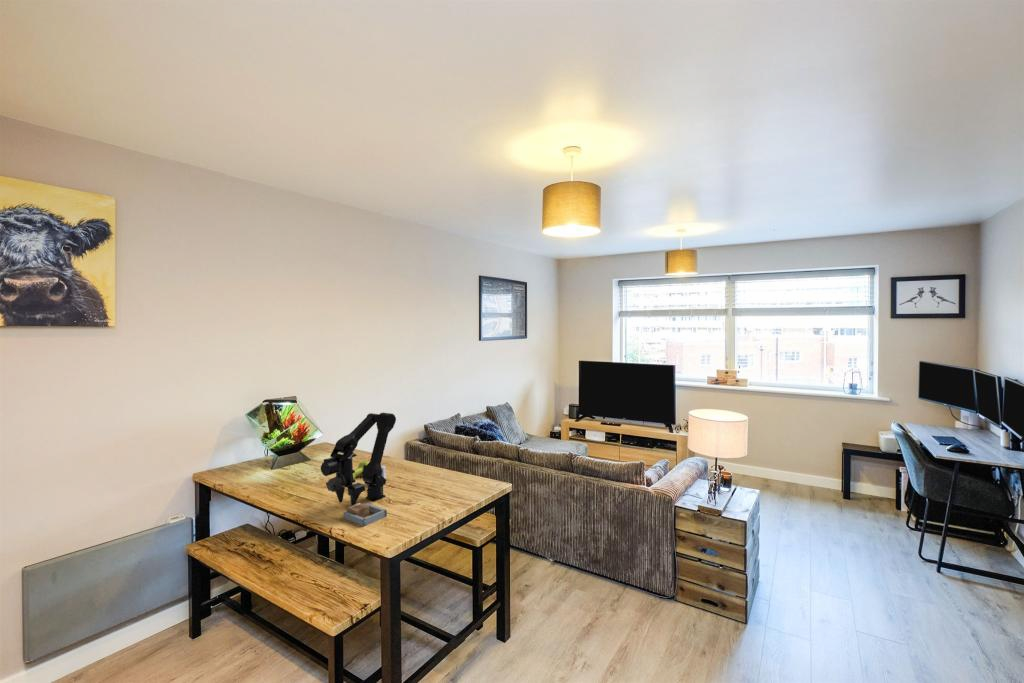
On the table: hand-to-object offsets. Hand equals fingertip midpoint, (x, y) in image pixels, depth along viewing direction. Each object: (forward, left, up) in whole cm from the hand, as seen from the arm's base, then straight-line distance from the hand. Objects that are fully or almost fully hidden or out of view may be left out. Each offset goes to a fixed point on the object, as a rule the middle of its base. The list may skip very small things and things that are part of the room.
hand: (346, 504), depth 199 cm
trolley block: (+1, +9, -3) cm, 9 cm away
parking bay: (0, +12, -3) cm, 12 cm away
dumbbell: (-27, -30, -3) cm, 41 cm away
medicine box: (-28, -15, -3) cm, 32 cm away
